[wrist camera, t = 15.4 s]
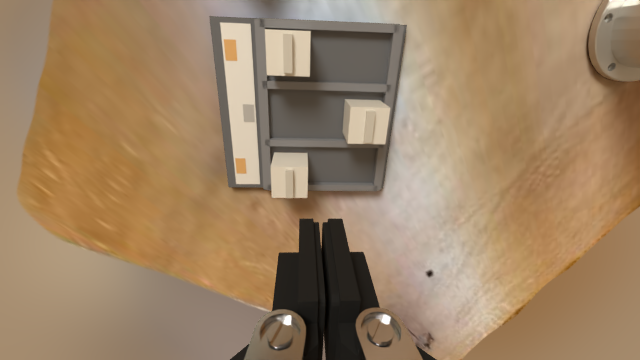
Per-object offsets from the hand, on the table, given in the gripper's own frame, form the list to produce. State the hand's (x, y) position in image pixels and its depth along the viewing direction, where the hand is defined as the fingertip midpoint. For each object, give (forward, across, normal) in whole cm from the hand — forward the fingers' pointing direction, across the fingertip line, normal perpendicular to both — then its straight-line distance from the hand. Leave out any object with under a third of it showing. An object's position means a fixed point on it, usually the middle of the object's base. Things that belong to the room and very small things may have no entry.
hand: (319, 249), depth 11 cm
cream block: (+24, +2, +6) cm, 25 cm away
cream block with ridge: (+24, -6, 0) cm, 25 cm away
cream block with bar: (+24, +2, -6) cm, 25 cm away
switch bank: (+25, 0, 0) cm, 25 cm away
